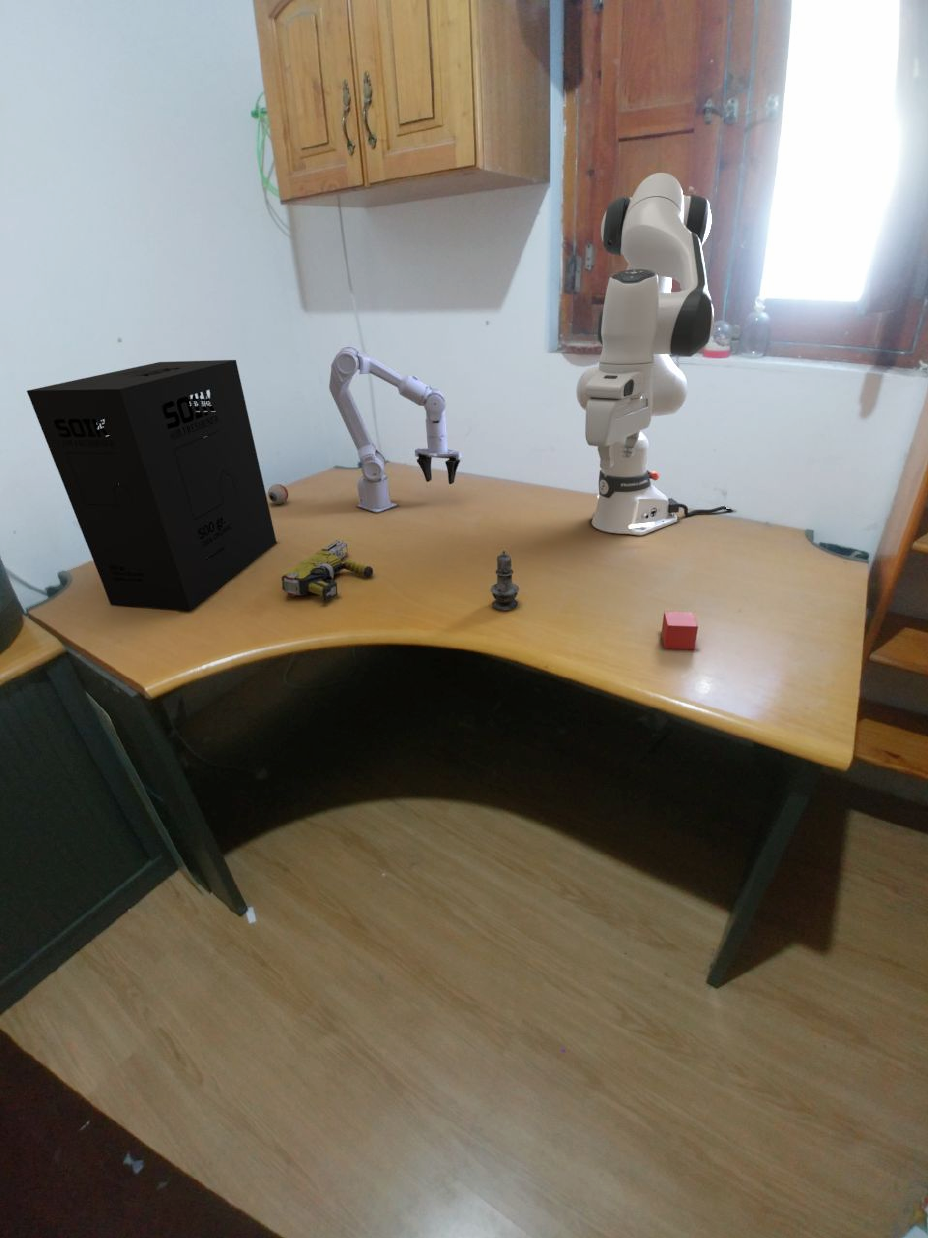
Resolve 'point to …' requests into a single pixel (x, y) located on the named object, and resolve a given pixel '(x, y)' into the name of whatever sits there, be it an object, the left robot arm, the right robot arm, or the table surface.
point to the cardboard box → (160, 478)
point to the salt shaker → (504, 585)
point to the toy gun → (321, 572)
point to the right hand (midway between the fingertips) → (617, 462)
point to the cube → (679, 630)
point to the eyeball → (278, 493)
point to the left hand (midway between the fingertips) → (440, 481)
